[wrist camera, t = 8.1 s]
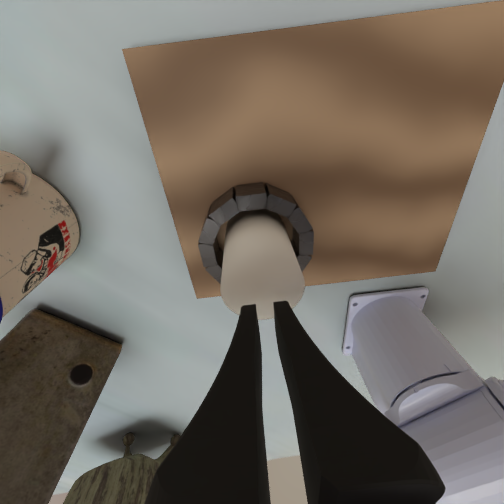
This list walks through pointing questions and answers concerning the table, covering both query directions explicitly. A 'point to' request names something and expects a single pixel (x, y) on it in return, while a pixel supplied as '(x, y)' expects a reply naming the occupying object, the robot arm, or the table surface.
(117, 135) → the table surface
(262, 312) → the cap plug
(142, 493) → the tabletop clock
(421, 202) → the board
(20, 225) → the teacup with lid
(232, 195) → the faceted grey ring
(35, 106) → the table surface
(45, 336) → the vintage camera
